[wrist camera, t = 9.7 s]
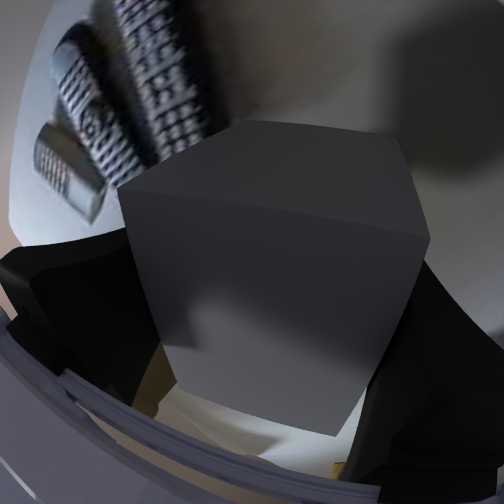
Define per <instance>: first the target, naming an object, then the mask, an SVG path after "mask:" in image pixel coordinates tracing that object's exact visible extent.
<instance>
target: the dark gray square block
mask: <svg viewBox="0 0 504 504" xmlns="http://www.w3.org/2000/svg"><path fill="white" fill-rule="evenodd" d="M117 193H118V197H119V202H120V206H121V211H122V215H123V219H124V223H125V227H126V231H127V235H128V239H129V242H130V246H131V250H132V253H133V257H134V260H135V264H136V267H137V271H138V274H139V277H140V281H141V284H142V287H143V290H144V293H145V296H146V299H147V303H148V306H149V309H150V311H151V314H152V317H153V320H154V323H155V326H156V329H157V331H158V334H159V337H160V340H161V342H162V345H163V348H164V350H165V353H166V355H167V358H168V361H169V363H170V366H171V368H172V371H173V373H174V375H175V378H176V380H177V383H178V385H179V387H180V389H181V390H184V391H186V392H189V393H191V394H194V395H196V396H199V397H201V398H204V399H206V400H209V401H212V402H215V403H217V404H220V405H223V406H226V407H229V408H231V409H234V410H237V411H240V412H243V413H246V414H250V415H253V416H256V417H259V418H263V419H266V420H269V421H273V422H276V423H280V424H284V425H287V426H291V427H295V428H299V429H303V430H307V431H312V432H316V433H320V434H325V435H330V436H335V437H336V436H337V435H338V433H339V431H340V430H341V428H342V427H343V425H344V424H345V422H346V421H347V419H348V417H349V416H350V414H351V412H352V411H353V409H354V408H355V406H356V404H357V402H358V401H359V399H360V397H361V396H362V394H363V392H364V390H365V389H366V387H367V385H368V383H369V381H370V380H371V378H372V376H373V374H374V372H375V370H376V368H377V366H378V365H379V363H380V361H381V359H382V357H383V355H384V353H385V351H386V349H387V347H388V345H389V342H390V340H391V338H392V336H393V334H394V332H395V330H396V327H397V325H398V323H399V321H400V318H401V316H402V314H403V312H404V309H405V307H406V304H407V302H408V300H409V297H410V295H411V292H412V290H413V287H414V285H415V282H416V279H417V277H418V274H419V271H420V268H421V266H422V263H423V260H424V257H425V254H426V251H427V248H428V245H429V242H430V239H431V238H430V234H429V231H428V227H427V223H426V220H425V217H424V213H423V210H422V207H421V203H420V200H419V197H418V194H417V191H416V188H415V185H414V182H413V179H412V177H411V174H410V171H409V168H408V166H407V163H406V160H405V158H404V155H403V153H402V150H401V148H400V145H399V143H398V140H397V138H393V137H388V136H383V135H377V134H371V133H366V132H360V131H353V130H347V129H340V128H332V127H324V126H316V125H307V124H297V123H285V122H272V121H254V120H245V121H243V122H240V123H238V124H236V125H234V126H232V127H229V128H227V129H225V130H223V131H221V132H219V133H217V134H215V135H213V136H210V137H208V138H206V139H204V140H202V141H200V142H198V143H196V144H194V145H192V146H190V147H189V148H187V149H185V150H183V151H181V152H179V153H177V154H175V155H173V156H172V157H170V158H168V159H166V160H164V161H162V162H161V163H159V164H157V165H155V166H153V167H152V168H150V169H148V170H146V171H145V172H143V173H141V174H140V175H138V176H136V177H134V178H133V179H131V180H129V181H128V182H126V183H125V184H123V185H121V186H120V187H118V188H117Z"/></svg>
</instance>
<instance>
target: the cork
mask: <svg viewBox="0 0 504 504" xmlns="http://www.w3.org/2000/svg"><path fill="white" fill-rule="evenodd" d="M176 383H177V380H176V378H175V375H174V373H173V371H172V368H171V366H170V363H169V361H168V358H167V355H166V353H165V350H164V348H163V345H162V342H161V341H160V343H159V345H158V347H157V349H156V351H155V353H154V355H153V357H152V359H151V361H150V363H149V365H148V367H147V370H146V372H145V374H144V376H143V378H142V381H141V383H140V386H139V388H138V391H137V394H136V396H135V399H134V401H133V404H132V407H131V408H133V409H135V410H137V411H139V412H140V413H142V414H144V415H146V416H148V417H150V418H152V419H153V418H154V417H155V416H156V414H157V412H158V409H159V408H158V403H159V402H160V401H161V400H162V399H163V398H164V397H165V395H166V394H167V393H168V392H169V391H170V390H171V389H172V387H173V386H174V385H175V384H176Z"/></svg>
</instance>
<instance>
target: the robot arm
mask: <svg viewBox="0 0 504 504" xmlns="http://www.w3.org/2000/svg"><path fill="white" fill-rule="evenodd" d="M0 283H1V285H2V287H3V289H4V291H5V293H6V295H7V296H8V298H9V300H10V302H11V303H12V305H13V307H14V308H15V310H16V312H17V313H18V315H17V316H16V317H15V318H14V319H13V321H11V320H10V318H9V317H8V315H7V313H6V312H5V311H4V310H3V308H2V307H1V306H0V504H238V503H236V502H233V501H230V500H227V499H225V498H223V497H220V496H218V495H215V494H213V493H211V492H208V491H206V490H204V489H202V488H199V487H197V486H195V485H193V484H190V483H189V482H186V481H184V480H182V479H180V478H178V477H176V476H174V475H172V474H170V473H168V472H166V471H165V470H162V469H161V468H159V467H157V466H155V465H153V464H151V463H150V462H148V461H146V460H144V459H143V458H141V457H139V456H137V455H136V454H134V453H132V452H131V451H129V450H127V449H125V448H124V447H123V446H121V445H119V444H118V443H116V441H115V440H114V439H113V438H111V436H109V435H108V434H107V433H106V432H104V431H103V430H102V429H101V428H100V427H99V426H98V425H97V424H96V423H95V422H94V421H93V420H92V419H91V417H90V416H89V415H88V414H87V413H86V412H85V411H84V410H83V409H81V408H80V407H79V406H78V405H77V404H76V403H78V404H79V405H80V406H82V407H83V408H85V409H86V410H88V411H89V412H90V413H92V414H93V415H95V416H96V417H98V418H99V419H101V420H102V421H104V422H106V423H107V424H109V425H110V426H112V427H113V428H115V429H117V430H118V431H120V432H122V433H123V434H125V435H127V436H129V437H130V438H132V439H134V440H135V441H137V442H139V443H141V444H143V445H145V446H146V447H148V448H150V449H152V450H154V451H156V452H158V453H160V454H162V455H164V456H166V457H168V458H170V459H172V460H174V461H176V462H178V463H180V464H183V465H185V466H187V467H189V468H192V469H194V470H196V471H199V472H201V473H203V474H206V475H208V476H211V477H213V478H216V479H219V480H221V481H224V482H227V483H229V484H232V485H235V486H238V487H241V488H244V489H247V490H250V491H253V492H257V493H260V494H263V495H267V496H270V497H274V498H278V499H282V500H285V501H290V502H294V503H298V504H504V483H503V484H497V472H498V468H500V467H501V466H503V464H504V350H503V349H502V348H501V347H500V346H499V345H498V344H496V343H495V342H494V341H493V340H492V339H491V338H490V337H489V336H488V335H487V334H486V333H485V332H484V331H483V330H482V329H481V328H480V327H479V326H478V325H477V324H476V323H475V322H474V321H473V320H472V319H471V318H470V317H469V316H468V315H467V314H466V313H465V312H464V311H463V309H462V308H461V307H460V306H459V305H458V304H457V303H456V301H455V300H454V299H453V298H452V297H451V296H450V294H449V293H448V292H447V291H446V289H445V288H444V287H443V285H442V284H441V283H440V281H439V280H438V279H437V277H436V276H435V275H434V273H433V272H432V271H431V269H430V268H429V266H428V265H427V263H426V262H425V261H424V260H423V263H422V266H421V268H420V271H419V274H418V277H417V279H416V282H415V285H414V287H413V290H412V292H411V295H410V297H409V300H408V302H407V304H406V307H405V309H404V312H403V314H402V316H401V318H400V321H399V323H398V325H397V327H396V330H395V332H394V334H393V336H392V338H391V340H390V342H389V345H388V347H387V349H386V351H385V353H384V355H383V357H382V359H381V361H380V363H379V365H378V366H377V368H376V370H375V372H374V374H373V376H372V378H371V380H370V381H369V383H368V385H367V390H366V395H365V399H364V404H363V408H362V412H361V416H360V420H359V423H358V427H357V431H356V434H355V437H354V441H353V444H352V447H351V450H350V453H349V456H348V459H347V462H346V465H345V468H344V470H343V473H342V476H341V478H340V481H339V480H333V479H328V478H323V477H318V476H313V475H308V474H304V473H300V472H295V471H291V470H287V469H284V468H280V467H276V466H273V465H269V464H266V463H262V462H259V461H256V460H253V459H249V458H246V457H243V456H240V455H237V454H235V453H232V452H229V451H226V450H223V449H221V448H218V447H215V446H213V445H210V444H208V443H205V442H203V441H200V440H198V439H195V438H193V437H191V436H188V435H186V434H184V433H181V432H179V431H177V430H175V429H173V428H170V427H168V426H166V425H164V424H162V423H160V422H158V421H156V420H154V419H152V418H150V417H148V416H146V415H144V414H142V413H140V412H139V411H137V410H135V409H133V408H131V407H132V404H133V401H134V399H135V396H136V394H137V391H138V388H139V386H140V383H141V381H142V378H143V376H144V374H145V372H146V370H147V367H148V365H149V363H150V361H151V359H152V357H153V355H154V353H155V351H156V349H157V347H158V345H159V343H160V341H161V340H160V337H159V334H158V331H157V329H156V326H155V323H154V320H153V317H152V314H151V311H150V309H149V306H148V303H147V299H146V296H145V293H144V290H143V287H142V284H141V281H140V277H139V274H138V271H137V267H136V264H135V260H134V257H133V253H132V250H131V246H130V242H129V239H128V235H127V231H126V227H124V228H121V229H118V230H115V231H111V232H108V233H105V234H101V235H97V236H92V237H88V238H83V239H79V240H74V241H69V242H63V243H56V244H49V245H38V246H25V247H17V248H15V249H13V250H11V251H10V252H9V253H8V254H6V255H5V256H4V257H3V258H2V259H0ZM75 402H76V403H75ZM287 504H291V503H287Z"/></svg>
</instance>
